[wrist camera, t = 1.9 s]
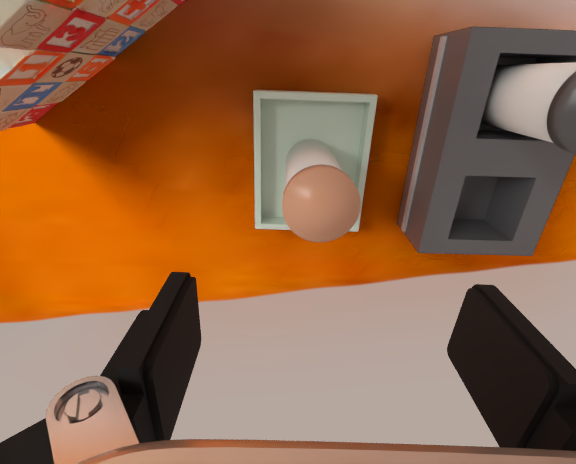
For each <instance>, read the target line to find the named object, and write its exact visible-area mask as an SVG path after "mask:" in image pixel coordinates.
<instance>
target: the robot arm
mask: <svg viewBox="0 0 576 464" xmlns="http://www.w3.org/2000/svg"><path fill="white" fill-rule="evenodd" d="M200 345H201V330H200V319H199V308H198V297H197V286H196V278H195V277H191V276H190V273H186V272H171V274H170V275H169V277H168V279H167V280H166V282H165V284H164V285H163V287H162V289H161V290H160V292H159V294H158V296H157V297H156V299H155V301H154V302H153V304H152V306H151V307H150V309H149V310H143V311H141V312H140V313H139V314H138V316H137V317H136V319H135V321H134V322H133V324H132V325H131V327H130V329H129V330H128V332H127V333H126V335H125V337H124V338H123V340H122V342H121V343H120V345H119V346H118V348H117V350H116V351H115V353H114V354H113V356H112V358H111V359H110V361H109V362H108V364H107V366H106V367H105V369H104V370H103V372H102V374H101V375H100V376H91V377H85V378H82V379H80V380H77V381H75V382H73V383H71V384H70V385H68V386H66V387H65V388H63V389H62V390H61V391H60V392H59V393H57V394H56V396H55V397H54V398H53V399H52V401H51V402H50V404H49V406H48V408H47V410H46V418H45V419H43V420H41V421H39V422H38V423H36V424H34V425H32V426H30V427H28V428H27V429H25V430H23V431H21V432H19V433H17V434H16V435H14V436H12V437H10V438H8V439H6V440H5V441H3V442H1V443H0V464H576V369H575V368H574V367H573V366H572V365H571V364H570V363H569V362H568V361H567V360H566V359H565V358H564V357H563V356H562V355H561V353H560V352H559V351H558V350H557V349H556V348H555V347H554V346H553V345H552V344H550V342H549V341H548V340H547V339H546V338H545V337H544V336H543V335H542V334H541V333H540V332H539V331H538V330H537V329H536V328H535V327H534V326H533V325H532V323H531V322H530V321H529V320H528V319H527V318H526V317H525V316H524V315H523V314H522V313H521V312H520V311H519V310H518V309H517V308H516V307H515V306H514V305H513V304H512V303H511V302H510V301H509V300H508V299H507V298H506V297H505V296H504V295H503V294H502V293H501V292H500V291H499V289H498V288H496V287H495V286H493V285H478V284H476V285H474V286H473V287H472V288H470V289H468V291H467V292H466V295H465V298H464V301H463V304H462V307H461V310H460V312H459V315H458V318H457V321H456V324H455V327H454V329H453V332H452V335H451V338H450V341H449V344H448V347H447V352H448V356H449V358H450V360H451V362H452V363H453V365H454V367H455V369H456V370H457V372H458V374H459V376H460V378H461V379H462V381H463V382H464V385H465V386H466V388H467V390H468V392H469V393H470V395H471V397H472V399H473V400H474V402H475V404H476V406H477V407H478V409H479V411H480V413H481V415H482V416H483V418H484V420H485V422H486V424H487V425H488V427H489V429H490V431H491V432H492V434H493V436H494V438H495V440H496V441H497V443H498V445H499V447H475V446H448V445H447V446H445V445H418V444H388V443H355V442H354V443H353V442H352V443H351V442H319V441H279V440H278V441H277V440H222V439H221V440H220V439H219V440H218V439H217V440H216V439H215V440H212V439H211V440H210V439H186V440H170V439H171V436H172V432H173V429H174V426H175V423H176V420H177V417H178V414H179V411H180V408H181V405H182V401H183V398H184V395H185V392H186V389H187V386H188V383H189V380H190V377H191V374H192V370H193V368H194V364H195V361H196V358H197V355H198V352H199V349H200Z"/></svg>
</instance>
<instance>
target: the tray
mask: <svg viewBox="0 0 576 464" xmlns="http://www.w3.org/2000/svg"><path fill="white" fill-rule="evenodd" d="M377 97H378V95H375V94H369V93H340V92H312V91H284V90H254V91H253V110H254V185H255V229H282V230H291V229H290V228H289V227H288V225H287V224H286V222H285V219H284V216H283V211H282V200H283V193H284V190H285V187H286V158H287V155H288V152H289V150H290V149H291V148H292V147H293V146H294V145H295V144H296V143H298V142H299V141H302V140H305V139H316V140H319V141H321V142H323V143H324V144H326V145H327V146H328V147H329V149H330V150H331V152H332V154H333V155H334V157H335V159H336V161H337V162H338V164H339V166H340V168H341V169H342V171H344V172H345V173H346V174H347V175H348V176H349V177H350V178H351V180H352V181H353V183H354V184H355V186H356V188H357V190H358V192H359V195H360V200H361V208H360V213H359V216H358V219H357V221H356V223H355V224H354V225H353V227H352V228H351V229H350V230H349V231H354V232H358V230H359V223H360V216H361V209H362V202H363V195H364V188H365V181H366V174H367V167H368V160H369V153H370V146H371V139H372V132H373V125H374V118H375V111H376V104H377Z"/></svg>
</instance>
